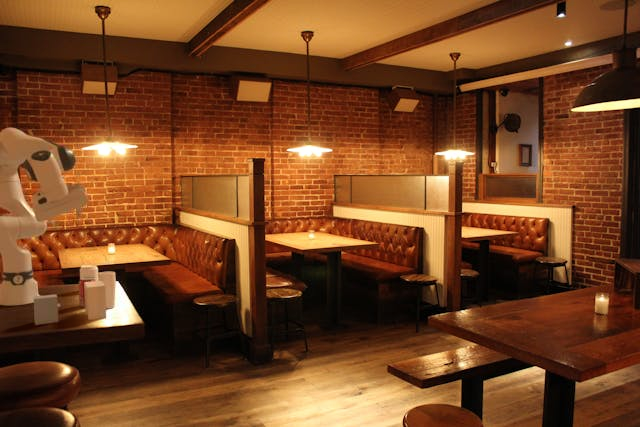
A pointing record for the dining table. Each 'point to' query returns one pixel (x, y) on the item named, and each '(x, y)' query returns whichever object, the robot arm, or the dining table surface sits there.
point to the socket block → (95, 300)
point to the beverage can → (89, 271)
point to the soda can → (81, 289)
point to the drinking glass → (108, 287)
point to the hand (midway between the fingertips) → (67, 221)
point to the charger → (46, 309)
